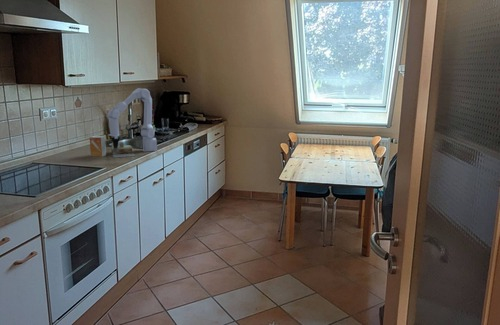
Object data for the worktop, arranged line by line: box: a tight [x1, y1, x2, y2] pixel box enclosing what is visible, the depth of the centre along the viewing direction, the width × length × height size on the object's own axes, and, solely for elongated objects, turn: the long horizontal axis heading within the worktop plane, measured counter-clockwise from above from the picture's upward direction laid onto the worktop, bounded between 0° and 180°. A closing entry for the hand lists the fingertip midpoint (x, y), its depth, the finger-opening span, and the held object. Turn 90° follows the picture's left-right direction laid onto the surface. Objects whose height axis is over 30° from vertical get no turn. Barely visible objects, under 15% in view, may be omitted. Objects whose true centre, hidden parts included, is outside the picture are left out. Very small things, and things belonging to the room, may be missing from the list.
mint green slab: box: [110, 141, 133, 151], centre depth 283 cm, size 13×8×4 cm, turn 114°
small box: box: [89, 135, 107, 158], centre depth 275 cm, size 8×6×13 cm
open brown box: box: [110, 147, 133, 155], centre depth 284 cm, size 13×11×4 cm
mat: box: [112, 152, 136, 159], centre depth 275 cm, size 14×9×1 cm, turn 114°
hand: (115, 147), depth 276 cm, fingers closed
